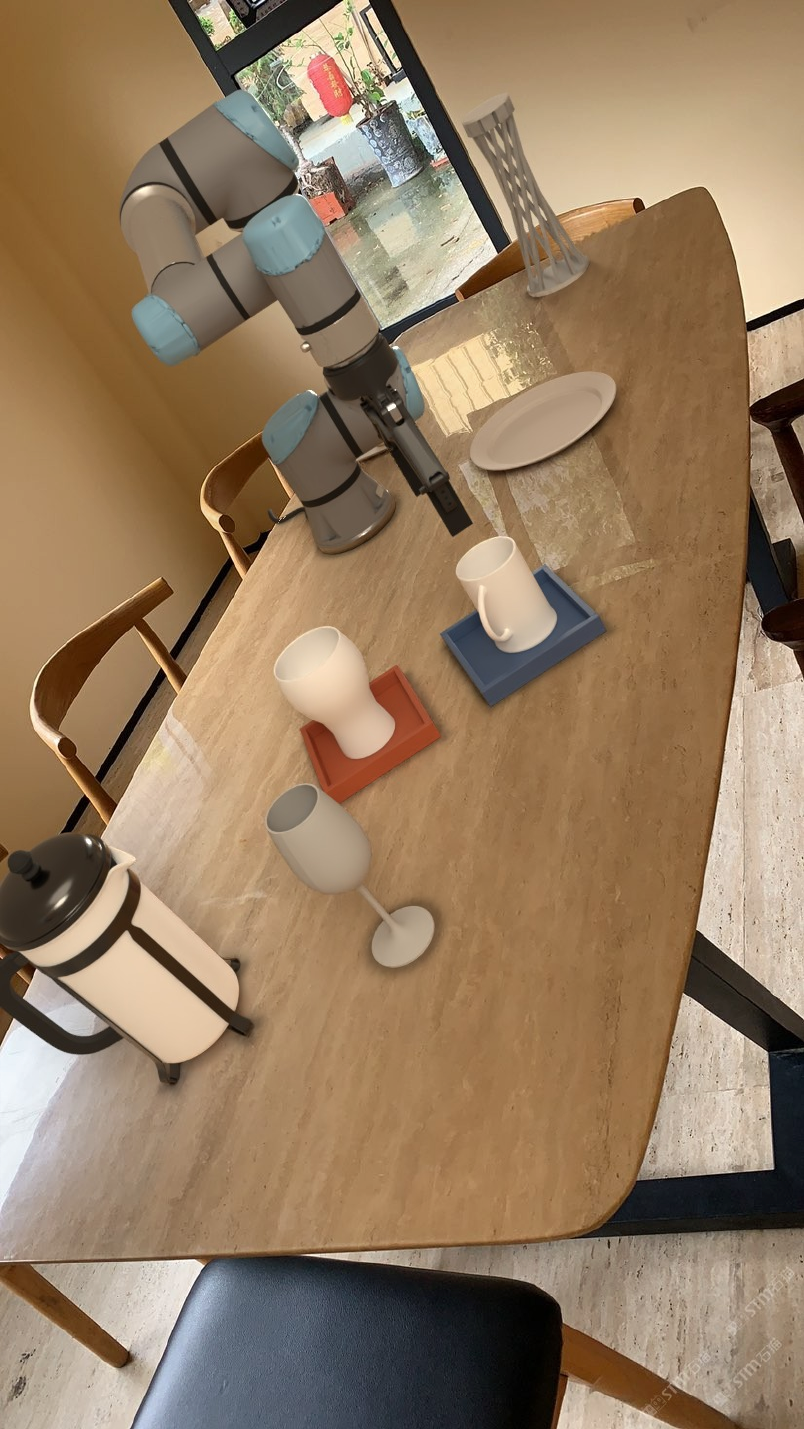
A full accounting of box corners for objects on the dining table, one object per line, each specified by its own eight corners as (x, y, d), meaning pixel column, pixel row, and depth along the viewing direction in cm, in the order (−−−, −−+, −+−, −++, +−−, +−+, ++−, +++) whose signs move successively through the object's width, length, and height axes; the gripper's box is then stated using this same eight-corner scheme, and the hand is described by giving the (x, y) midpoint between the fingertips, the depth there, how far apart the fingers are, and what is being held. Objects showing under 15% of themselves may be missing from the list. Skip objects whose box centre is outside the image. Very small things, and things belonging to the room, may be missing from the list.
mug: (537, 669, 125) (494, 595, 118) (478, 675, 130) (433, 604, 124) (565, 602, 132) (526, 529, 125) (508, 610, 137) (467, 540, 130)
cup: (332, 728, 138) (270, 648, 130) (402, 694, 136) (343, 610, 127) (334, 780, 130) (267, 698, 121) (409, 745, 127) (346, 658, 119)
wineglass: (444, 903, 106) (338, 771, 95) (424, 969, 102) (310, 838, 90) (384, 906, 110) (275, 780, 99) (361, 969, 106) (244, 844, 94)
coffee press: (193, 950, 121) (16, 786, 104) (287, 974, 110) (106, 796, 94) (105, 1087, 112) (-104, 932, 95) (198, 1127, 102) (-19, 961, 85)
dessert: (365, 436, 206) (353, 416, 203) (418, 412, 201) (406, 391, 198) (355, 467, 198) (342, 447, 195) (410, 444, 192) (397, 422, 190)
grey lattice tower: (517, 301, 216) (439, 136, 197) (549, 265, 222) (477, 101, 202) (568, 290, 207) (492, 114, 187) (601, 253, 212) (530, 78, 192)
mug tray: (448, 646, 139) (439, 633, 138) (552, 577, 138) (544, 563, 137) (490, 707, 125) (481, 693, 124) (606, 630, 124) (599, 615, 123)
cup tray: (309, 741, 140) (299, 728, 138) (406, 677, 139) (397, 663, 138) (334, 806, 127) (323, 793, 126) (441, 736, 126) (431, 722, 125)
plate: (646, 409, 157) (641, 397, 156) (500, 499, 160) (495, 489, 159) (585, 366, 178) (581, 356, 177) (458, 447, 181) (452, 437, 180)
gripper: (297, 345, 119) (386, 492, 131) (349, 400, 99) (450, 567, 111) (351, 308, 119) (436, 458, 131) (415, 355, 99) (509, 528, 111)
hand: (442, 508), depth 121 cm, fingers open, 13 cm apart
